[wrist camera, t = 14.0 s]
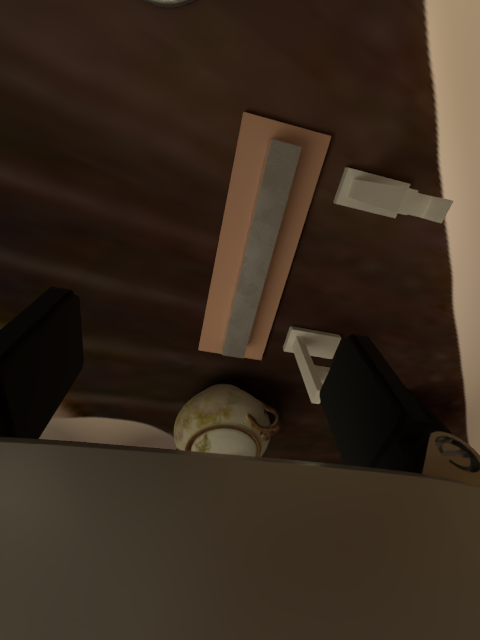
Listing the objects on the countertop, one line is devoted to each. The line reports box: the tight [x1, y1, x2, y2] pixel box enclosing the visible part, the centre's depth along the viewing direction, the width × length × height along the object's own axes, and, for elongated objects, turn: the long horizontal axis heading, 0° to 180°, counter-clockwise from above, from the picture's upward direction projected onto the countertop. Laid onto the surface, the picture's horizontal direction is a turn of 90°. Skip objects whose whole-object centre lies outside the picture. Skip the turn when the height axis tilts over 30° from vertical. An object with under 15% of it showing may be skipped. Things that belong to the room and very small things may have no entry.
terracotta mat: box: [198, 112, 331, 360], centre depth 40 cm, size 31×10×1 cm, turn 167°
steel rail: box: [222, 139, 302, 358], centre depth 38 cm, size 27×3×3 cm, turn 168°
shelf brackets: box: [283, 167, 453, 404], centre depth 36 cm, size 26×8×13 cm, turn 167°
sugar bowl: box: [174, 384, 282, 457], centre depth 46 cm, size 20×15×15 cm
